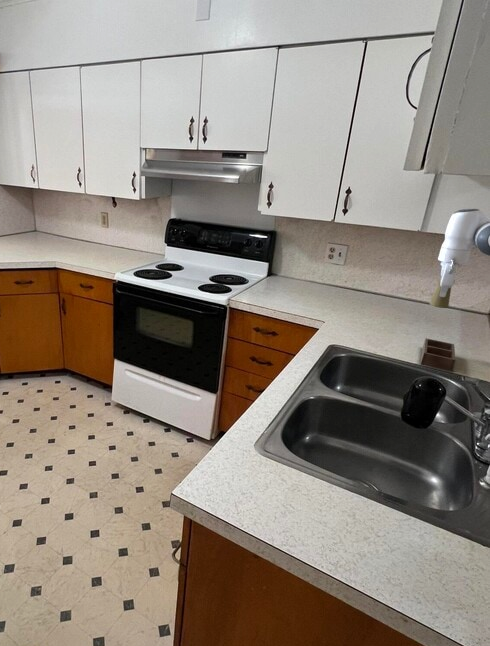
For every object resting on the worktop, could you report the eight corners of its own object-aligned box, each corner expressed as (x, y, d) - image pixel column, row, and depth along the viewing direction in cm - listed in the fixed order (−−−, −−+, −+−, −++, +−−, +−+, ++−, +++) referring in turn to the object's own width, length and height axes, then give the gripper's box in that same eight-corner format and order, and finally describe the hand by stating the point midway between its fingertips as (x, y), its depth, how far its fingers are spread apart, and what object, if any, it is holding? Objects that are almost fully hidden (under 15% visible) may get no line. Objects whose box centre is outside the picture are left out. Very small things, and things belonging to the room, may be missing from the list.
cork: (439, 303, 159) (448, 274, 155) (452, 308, 153) (461, 278, 149) (425, 303, 158) (433, 274, 154) (437, 308, 152) (446, 278, 148)
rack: (450, 355, 155) (454, 344, 153) (451, 372, 141) (455, 360, 139) (422, 349, 159) (425, 338, 157) (420, 365, 145) (424, 352, 143)
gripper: (465, 262, 139) (452, 302, 144) (463, 254, 155) (452, 290, 160) (442, 259, 142) (431, 299, 147) (443, 251, 158) (433, 287, 163)
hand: (442, 294), depth 154 cm, fingers closed on cork, 4 cm apart
